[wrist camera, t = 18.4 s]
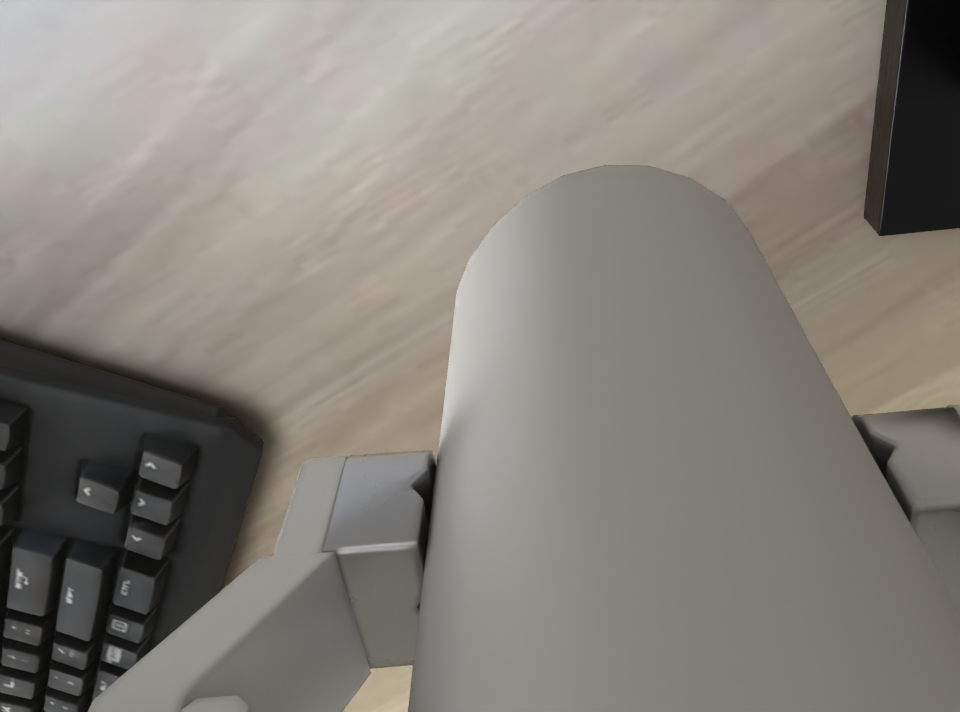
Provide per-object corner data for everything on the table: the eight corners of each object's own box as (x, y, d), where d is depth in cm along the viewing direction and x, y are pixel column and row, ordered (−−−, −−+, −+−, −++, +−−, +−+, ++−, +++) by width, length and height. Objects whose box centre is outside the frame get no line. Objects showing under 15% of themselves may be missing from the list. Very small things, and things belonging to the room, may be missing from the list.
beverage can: (440, 396, 15) (298, 1577, 5) (479, 126, 13) (349, 1431, 3) (711, 433, 16) (1087, 1629, 5) (803, 174, 13) (1854, 1539, 3)
